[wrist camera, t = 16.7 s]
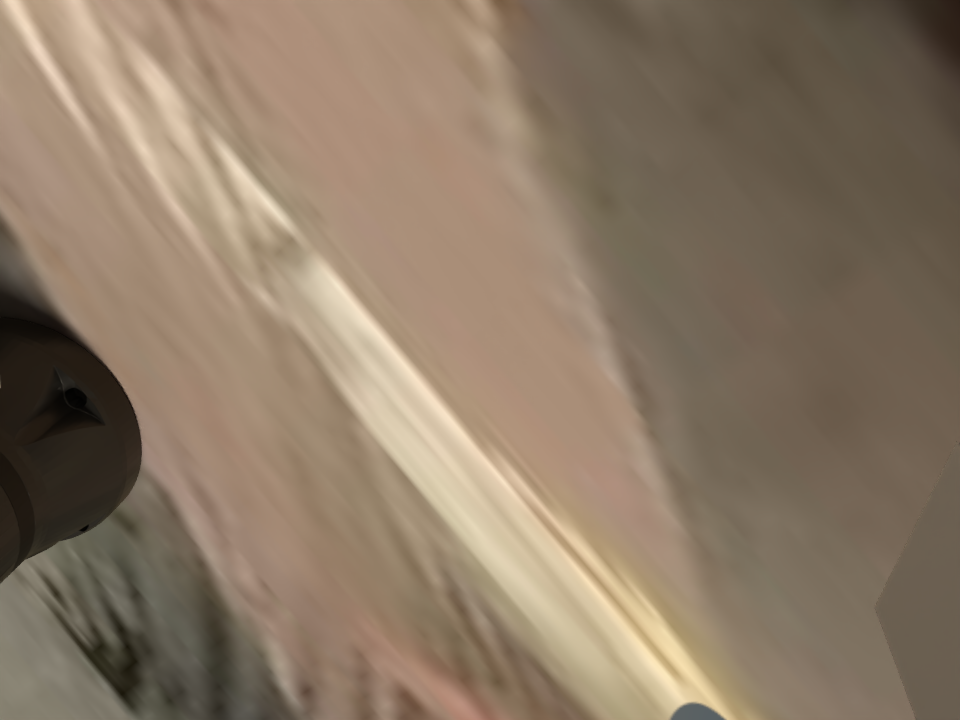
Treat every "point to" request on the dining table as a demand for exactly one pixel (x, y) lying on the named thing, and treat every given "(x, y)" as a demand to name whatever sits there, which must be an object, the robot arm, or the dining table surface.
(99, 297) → the dining table surface
